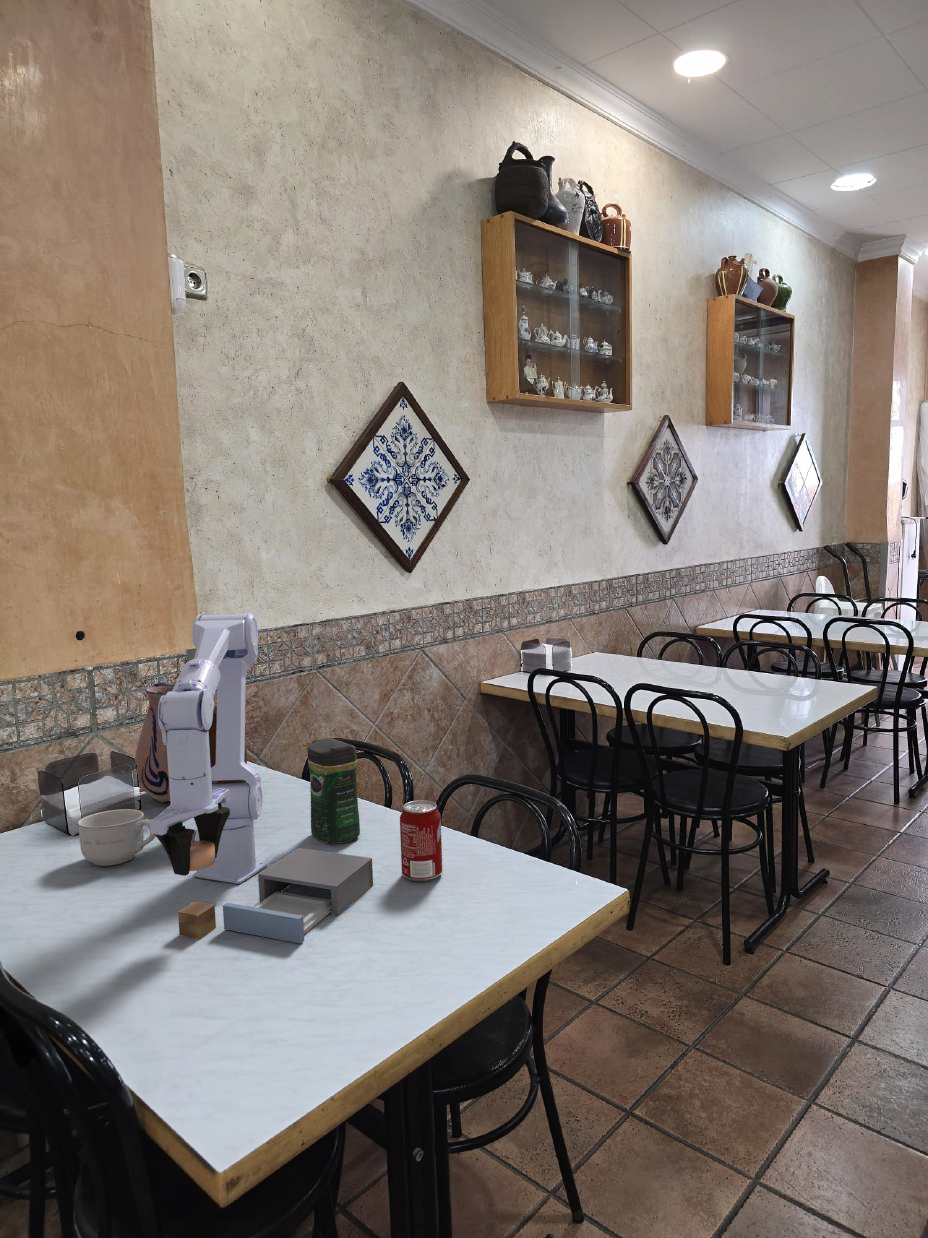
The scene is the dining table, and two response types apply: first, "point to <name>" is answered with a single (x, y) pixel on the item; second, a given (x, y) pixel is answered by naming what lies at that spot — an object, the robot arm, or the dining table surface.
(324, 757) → the coffee jar
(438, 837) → the soda can
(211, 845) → the cylinder
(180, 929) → the brown cube block
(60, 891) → the dining table surface
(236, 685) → the robot arm
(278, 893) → the tray
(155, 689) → the ceramic pitcher
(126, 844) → the teacup
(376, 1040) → the dining table surface
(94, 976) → the dining table surface
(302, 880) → the box
